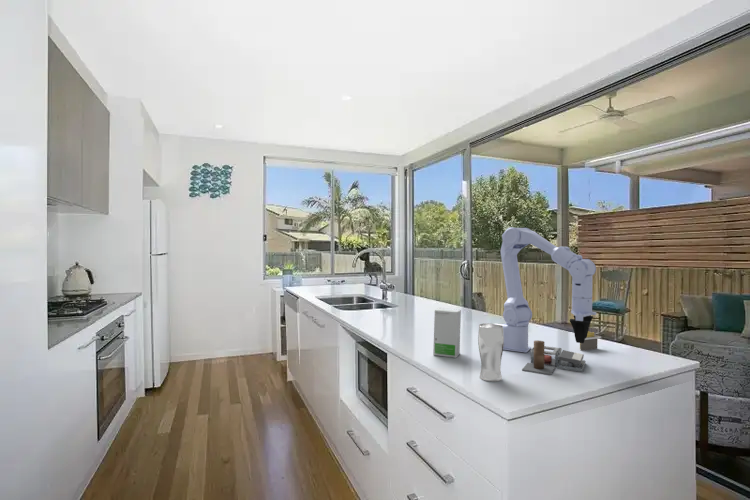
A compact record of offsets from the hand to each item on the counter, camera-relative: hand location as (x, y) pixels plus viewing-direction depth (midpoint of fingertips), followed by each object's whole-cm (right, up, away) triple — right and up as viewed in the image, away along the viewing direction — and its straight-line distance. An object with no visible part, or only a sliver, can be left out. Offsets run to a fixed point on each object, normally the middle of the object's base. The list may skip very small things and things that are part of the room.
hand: (581, 340), depth 128 cm
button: (-10, -7, +3) cm, 13 cm away
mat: (-16, -8, -5) cm, 18 cm away
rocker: (-4, -5, -2) cm, 7 cm away
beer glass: (-33, -8, -14) cm, 36 cm away
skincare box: (-41, -8, +11) cm, 43 cm away
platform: (+12, -8, +19) cm, 23 cm away
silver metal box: (-8, -8, 0) cm, 11 cm away
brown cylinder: (-16, -7, -5) cm, 18 cm away
